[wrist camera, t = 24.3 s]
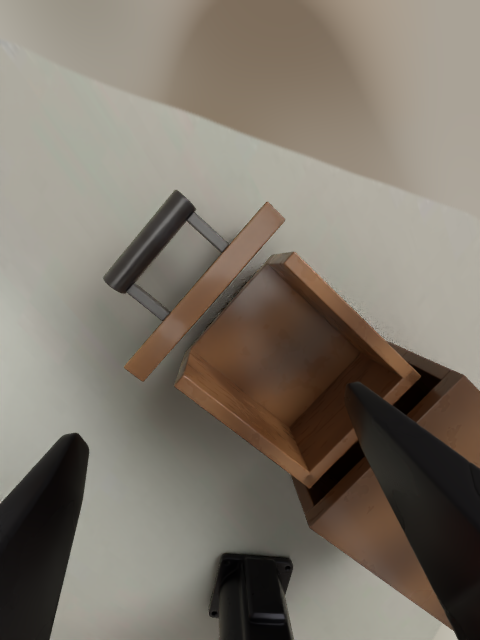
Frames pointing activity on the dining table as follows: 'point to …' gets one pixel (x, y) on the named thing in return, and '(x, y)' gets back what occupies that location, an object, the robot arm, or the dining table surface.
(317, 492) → the cabinet
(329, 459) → the drawer
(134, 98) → the dining table surface
